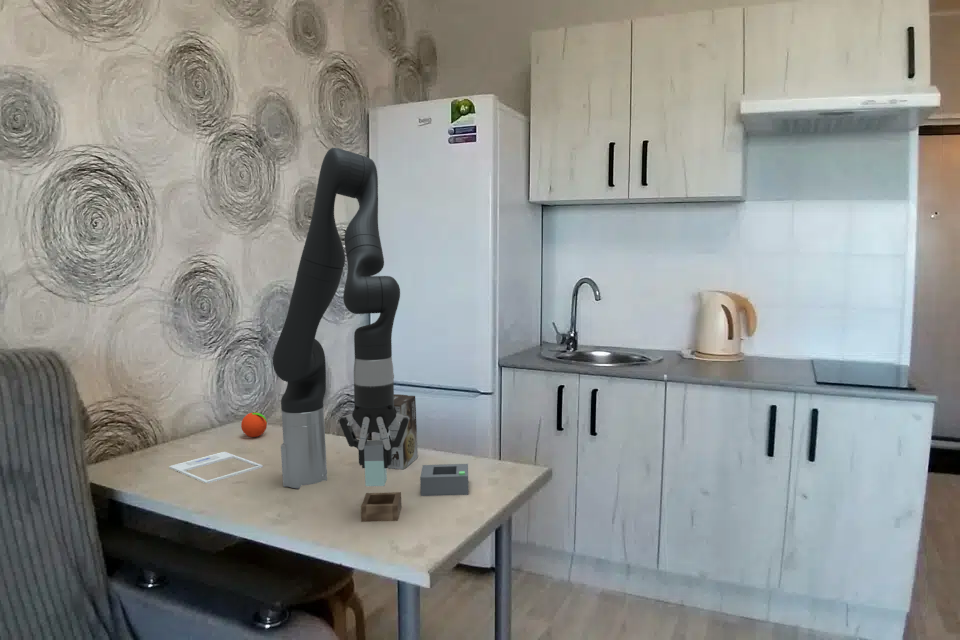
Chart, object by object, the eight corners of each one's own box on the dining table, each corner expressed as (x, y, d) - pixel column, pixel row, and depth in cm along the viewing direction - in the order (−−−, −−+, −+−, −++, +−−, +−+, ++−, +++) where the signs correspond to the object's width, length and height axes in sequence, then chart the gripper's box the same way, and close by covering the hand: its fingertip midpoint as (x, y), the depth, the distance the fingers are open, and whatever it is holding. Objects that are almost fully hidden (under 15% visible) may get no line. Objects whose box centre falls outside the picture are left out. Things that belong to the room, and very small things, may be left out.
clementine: (275, 434, 198) (274, 410, 197) (260, 441, 191) (258, 416, 190) (252, 432, 200) (251, 408, 200) (236, 439, 194) (234, 414, 193)
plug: (365, 486, 134) (364, 445, 133) (368, 479, 137) (367, 440, 136) (384, 485, 134) (382, 445, 133) (386, 479, 137) (385, 440, 136)
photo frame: (224, 450, 181) (262, 464, 170) (224, 454, 181) (262, 468, 170) (168, 465, 170) (205, 481, 159) (169, 469, 170) (206, 485, 159)
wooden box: (361, 526, 133) (360, 506, 133) (367, 512, 140) (366, 493, 140) (398, 525, 133) (397, 505, 133) (401, 511, 140) (400, 492, 140)
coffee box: (395, 456, 176) (392, 393, 174) (418, 457, 174) (416, 394, 172) (379, 467, 167) (377, 402, 165) (404, 469, 165) (402, 403, 163)
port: (420, 500, 146) (420, 475, 145) (423, 486, 154) (422, 463, 153) (468, 499, 146) (467, 474, 145) (468, 485, 154) (467, 461, 153)
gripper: (332, 384, 129) (335, 473, 131) (408, 384, 129) (409, 473, 131) (341, 376, 137) (343, 460, 139) (412, 376, 137) (414, 460, 139)
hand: (375, 466), depth 135 cm, fingers closed on plug, 3 cm apart
